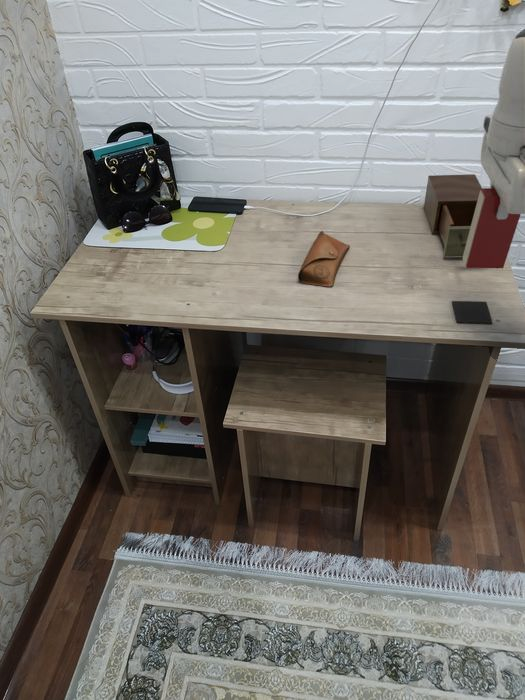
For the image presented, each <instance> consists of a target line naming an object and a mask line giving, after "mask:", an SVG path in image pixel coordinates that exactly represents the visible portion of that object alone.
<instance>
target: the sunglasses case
mask: <svg viewBox="0 0 525 700" xmlns="http://www.w3.org/2000/svg"><path fill="white" fill-rule="evenodd" d="M350 247H351V245H350V244H346V243H344V242H342V241H341V240H339V239H336V238H335V237H332V236H331V235H328V234H327V233H325V232H324V230H321V231H320V232H319V233H318V235H317V237H316V238H315V239H314V241H313V243H312V245H311V247H310V249H309V251H308V253H307V255H306V257H305V258H304V260H303V263H302V265H301V267H300V269H299V272H298V274H297V279H298V281H299V282H300V283H302V284H305V285H308V286H309V285H310V286H316V287H325V288H329V287H333V286H334V284H335V279H336V276H337V273H338V270H339V268H340V265H341V264H342V261H343V259H344V258H345V255H346V254H347V253H348V251H349V249H350Z"/></svg>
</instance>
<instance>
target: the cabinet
mask: <svg viewBox="0 0 525 700" xmlns="http://www.w3.org/2000/svg"><path fill="white" fill-rule="evenodd" d="M482 188H483V187H482V185H481V183H480V181H479V179H478V177H477V176H476V174H441V175H440V174H437V175H435V174H434V175H428V177H427V183H426V190H425V196H424V202H423V211H424V213H425V216H426V219H427V223H428V225H429V228H430V232H431V234H432V235H433V236H435V235H436V236H439V235H440V232H439V230H438V224H439V218H440V212H441V207H442V204H472V203H477V201H478V197H479V193H480V190H481V189H482ZM440 236H441V235H440Z"/></svg>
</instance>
